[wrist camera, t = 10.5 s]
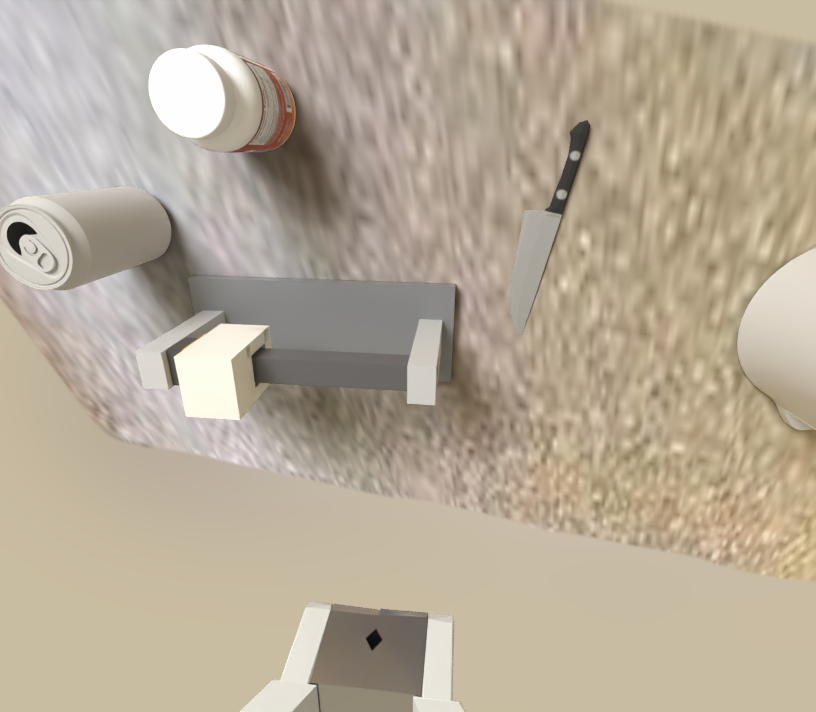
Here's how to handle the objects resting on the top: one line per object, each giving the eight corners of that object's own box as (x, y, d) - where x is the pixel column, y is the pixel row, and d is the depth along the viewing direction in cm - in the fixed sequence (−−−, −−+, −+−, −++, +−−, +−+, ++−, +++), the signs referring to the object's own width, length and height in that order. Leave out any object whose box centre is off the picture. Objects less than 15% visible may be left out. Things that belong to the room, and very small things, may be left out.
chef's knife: (484, 341, 44) (516, 349, 44) (484, 345, 43) (517, 354, 43) (552, 113, 36) (591, 122, 36) (553, 112, 35) (594, 121, 35)
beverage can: (132, 169, 41) (10, 175, 30) (190, 227, 42) (94, 254, 31) (93, 219, 43) (-34, 243, 32) (150, 274, 44) (46, 313, 33)
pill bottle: (211, 124, 39) (121, 115, 28) (239, 47, 36) (153, 6, 26) (278, 167, 39) (214, 173, 29) (311, 94, 37) (254, 73, 27)
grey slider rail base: (455, 284, 42) (452, 326, 31) (451, 377, 45) (447, 442, 35) (192, 275, 44) (112, 311, 34) (208, 364, 47) (139, 421, 37)
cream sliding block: (269, 325, 38) (231, 359, 32) (275, 378, 40) (239, 420, 33) (220, 323, 38) (173, 356, 32) (228, 375, 40) (185, 416, 34)
